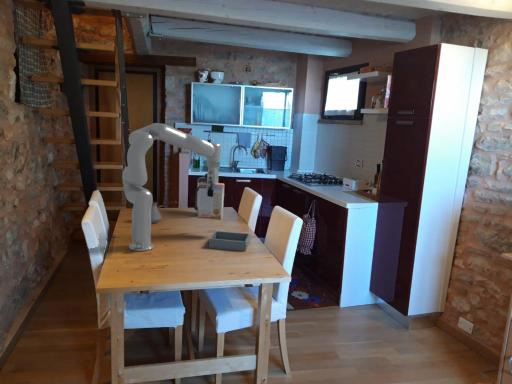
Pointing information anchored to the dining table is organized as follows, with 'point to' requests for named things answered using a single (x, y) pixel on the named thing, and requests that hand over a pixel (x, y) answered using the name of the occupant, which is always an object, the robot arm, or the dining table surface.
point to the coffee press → (196, 194)
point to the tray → (229, 241)
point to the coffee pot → (157, 212)
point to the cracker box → (211, 201)
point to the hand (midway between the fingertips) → (211, 195)
